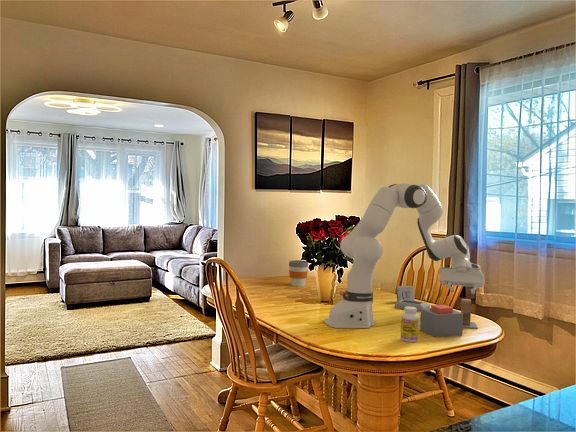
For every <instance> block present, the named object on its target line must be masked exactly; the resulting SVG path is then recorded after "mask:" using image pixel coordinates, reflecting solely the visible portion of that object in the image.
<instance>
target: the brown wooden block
mask: <svg viewBox="0 0 576 432" xmlns="http://www.w3.org/2000/svg"><path fill="white" fill-rule="evenodd" d="M460 308H461V310H460V313H463V325H470V322H471V319H472V317H471V312H472V300H471V298H461V303H460Z"/></svg>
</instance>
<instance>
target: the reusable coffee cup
mask: <svg viewBox="0 0 576 432" xmlns="http://www.w3.org/2000/svg"><path fill="white" fill-rule="evenodd" d="M306 261H307V260H298V259H297V260H289V261H288V267H289V270H288V274H289V278H290V285H291V286H293V287H305V286H306V280H307V277H308V272H309V270H308V268H309V262H306Z"/></svg>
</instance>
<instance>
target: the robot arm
mask: <svg viewBox="0 0 576 432" xmlns="http://www.w3.org/2000/svg"><path fill="white" fill-rule="evenodd" d="M396 207H399V208H402V209H416V211H417V212H418V215H419V216H418V218H417V219H416V220H417V227H418V231H419V234H420V235H421V238H422V240H423V243H424V246H425V249H426V252H427V253H426V254H427V256H428V258H429V259H430V260H433V261H435V262H438V261H442V260H444V259H446V258H451V262H450V263H451V267H444V266H442V267H440V268H439V269H438V273H439V275H440V276H439V283H440V284H441V285H445V286H446V285H447V287H448V289H449V292H451V293H454V291H455V290H454V288H455V287H454V286H458V287H460V286H462V287H469V288H470V287H472V288H471V289H470V293H471V294H473V295H475V293H476V289H478V288H484V286H485V284H486V282H485V275H484V273H483V271H482V269H481V268H482V267H481V265H478V264H476V263H473V262H471V261H470V258H471V254H470V249H469V246H468V243H467V242H466V240H465V239H464V237H462V236H460V235H457V234H453V235H449V236H446V237H444V238H440V239H434V238H433V236H432V234H431V231H430V228H431V227H432V226H433V225H434V224H436V223H437V222H439V220H440V219H441V217H442V216H443V212H444V207H443V205H442V203H441V201H440V199H439V198H438V196H437V195H436V193H435V192H434V191H433V190H432V188H431V187H430V186H429V185H427V184H425V183H420V184H409V183H408V184H407V183H392V184H390V185H388V186H383V187H380V188H379V189H378V190H377V192H376V193H375V194H374V196H373V198H371V201H369V204H368V206H367V208H366V210H365V211H364V214H363V216H362V217H361V219H360V220H359V222H358V223H356V226H355V227H353V229H352V230H351V231H350V232H349V233H348V234H347V235H345V236H344V237H342V239H341V241H340V243H339V245H340V246H339V247H340V250H341V252H342V254H343V255H345V256H346V257H347V258H350V259H353V262H352V265H351V268H350V270H349V271H348V272H347V278H346V279H347V282H346V290H345V291H344V290H343V291H342V290H339V292H338V294H339V296H342V299H341V300H339V302H337V303H336V304H335V305H333V306H331V308H330V310H329V314H328V317H325V318H324V319H323V323H324V324H325V325H327V326H328V327H331V328H334V329H370V328H371V327H372V326H374V325H375V324H376V323H375V318H374V313H373V302H374V292H373V276H374V272H375V267H376V265H377V263H378V261H379V260H380V259H381V258H382V256H383V254H384V246H383V244H382V242H381V241H379V240H378V239H376V237H377V236H379V235H380V234H381V233H383V232H384V231H385V229H386V228H387V225H388V223H389V222H390V220H391V217H392V215H393V213H394V211H395V210H396V209H395V208H396Z"/></svg>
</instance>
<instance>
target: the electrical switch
mask: <svg viewBox="0 0 576 432" xmlns="http://www.w3.org/2000/svg"><path fill="white" fill-rule="evenodd" d="M395 293H396V303H397V302H399V301H401V300H403V299H405V300H412V301H416V300H415V292H414V286H412V285H398V286H396V288H395Z"/></svg>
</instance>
